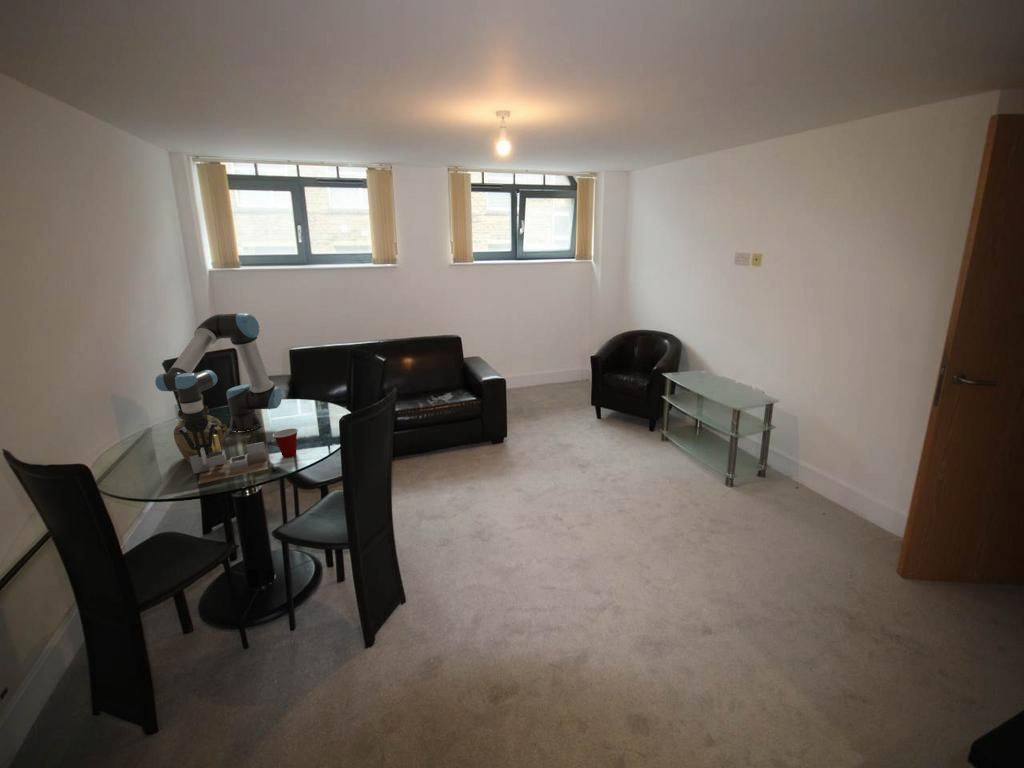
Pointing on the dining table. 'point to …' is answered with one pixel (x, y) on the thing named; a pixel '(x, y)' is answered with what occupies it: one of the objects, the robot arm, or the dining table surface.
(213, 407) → the dining table surface
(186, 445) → the ceramic vessel
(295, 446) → the plastic cup
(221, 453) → the flanged square frame
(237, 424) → the robot arm
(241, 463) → the fixed leaf
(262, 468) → the board
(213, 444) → the pin
